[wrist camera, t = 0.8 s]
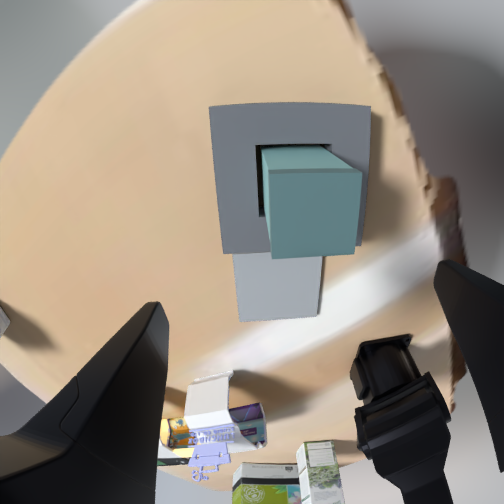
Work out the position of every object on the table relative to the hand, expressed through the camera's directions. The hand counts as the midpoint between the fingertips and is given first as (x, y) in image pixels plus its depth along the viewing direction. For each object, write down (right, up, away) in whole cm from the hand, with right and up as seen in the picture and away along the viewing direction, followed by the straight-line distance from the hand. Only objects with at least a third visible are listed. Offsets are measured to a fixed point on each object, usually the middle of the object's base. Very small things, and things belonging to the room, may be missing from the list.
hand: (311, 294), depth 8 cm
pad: (0, -2, +16) cm, 16 cm away
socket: (+1, +7, +11) cm, 13 cm away
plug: (+1, +7, +11) cm, 13 cm away
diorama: (-14, -19, +26) cm, 35 cm away
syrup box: (+9, -34, +35) cm, 49 cm away
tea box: (+2, -45, +41) cm, 61 cm away
